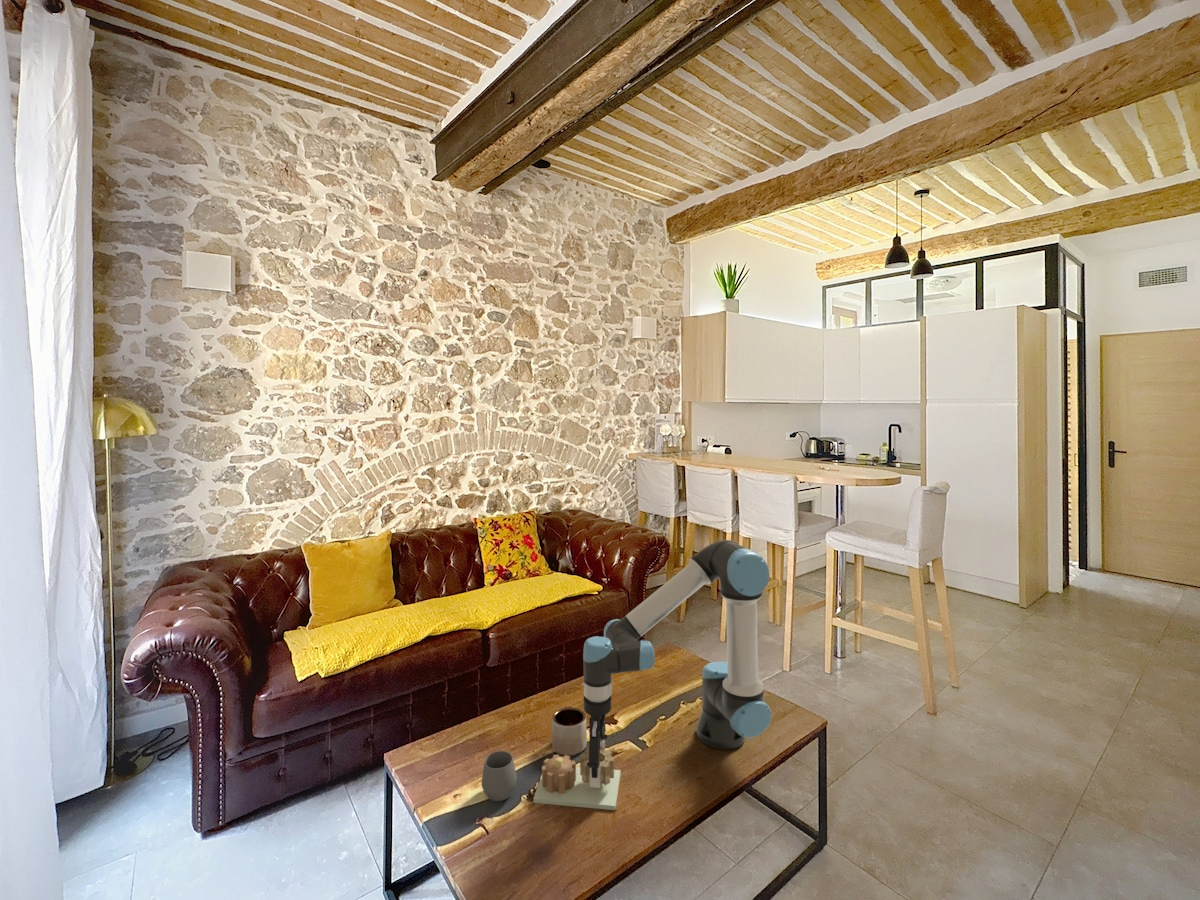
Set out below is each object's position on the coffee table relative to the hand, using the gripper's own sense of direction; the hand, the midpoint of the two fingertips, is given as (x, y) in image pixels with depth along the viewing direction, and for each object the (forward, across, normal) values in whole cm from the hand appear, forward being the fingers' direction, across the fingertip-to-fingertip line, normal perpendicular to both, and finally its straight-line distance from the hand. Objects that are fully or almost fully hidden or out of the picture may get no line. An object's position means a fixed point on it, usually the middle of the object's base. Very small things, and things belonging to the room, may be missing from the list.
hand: (597, 773), depth 149 cm
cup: (+5, +5, -26) cm, 27 cm away
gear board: (+5, 0, -5) cm, 7 cm away
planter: (+5, -18, -11) cm, 22 cm away
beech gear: (0, 0, 0) cm, 0 cm away
